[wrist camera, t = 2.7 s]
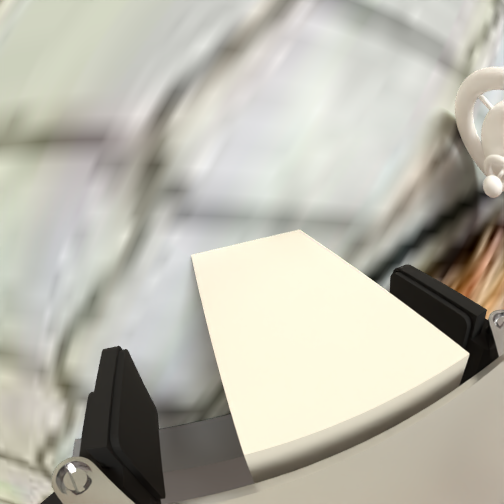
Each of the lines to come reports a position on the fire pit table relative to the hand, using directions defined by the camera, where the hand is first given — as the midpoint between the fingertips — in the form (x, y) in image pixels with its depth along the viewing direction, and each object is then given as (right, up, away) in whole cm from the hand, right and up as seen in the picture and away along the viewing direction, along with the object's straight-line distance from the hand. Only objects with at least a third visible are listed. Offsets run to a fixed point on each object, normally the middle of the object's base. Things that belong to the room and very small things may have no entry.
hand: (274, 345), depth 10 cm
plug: (-1, +1, +3) cm, 4 cm away
